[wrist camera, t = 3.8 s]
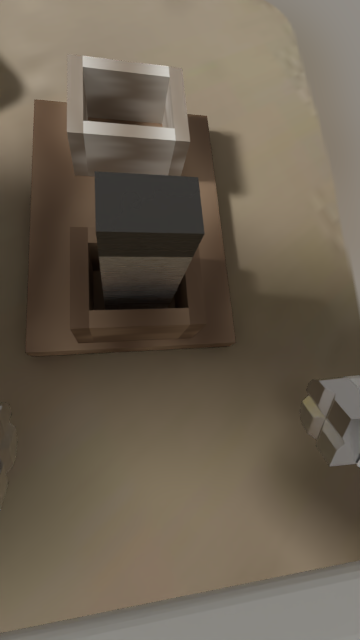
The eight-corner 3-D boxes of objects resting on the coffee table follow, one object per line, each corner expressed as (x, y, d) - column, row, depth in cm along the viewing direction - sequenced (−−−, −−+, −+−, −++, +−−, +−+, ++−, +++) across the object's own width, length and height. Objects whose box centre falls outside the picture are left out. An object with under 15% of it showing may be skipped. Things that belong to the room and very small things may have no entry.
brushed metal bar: (105, 315, 22) (95, 231, 11) (105, 281, 23) (94, 171, 12) (164, 314, 23) (204, 233, 12) (161, 280, 23) (198, 177, 13)
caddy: (31, 356, 22) (4, 339, 17) (38, 115, 27) (19, 45, 22) (229, 346, 25) (259, 329, 19) (202, 130, 30) (221, 70, 24)
